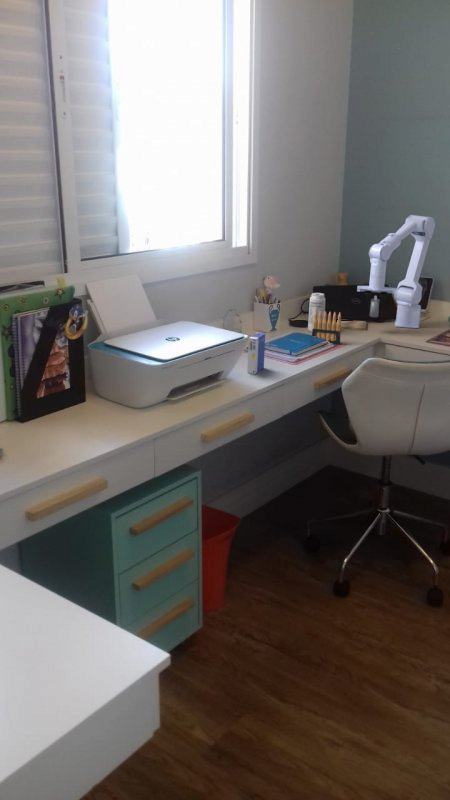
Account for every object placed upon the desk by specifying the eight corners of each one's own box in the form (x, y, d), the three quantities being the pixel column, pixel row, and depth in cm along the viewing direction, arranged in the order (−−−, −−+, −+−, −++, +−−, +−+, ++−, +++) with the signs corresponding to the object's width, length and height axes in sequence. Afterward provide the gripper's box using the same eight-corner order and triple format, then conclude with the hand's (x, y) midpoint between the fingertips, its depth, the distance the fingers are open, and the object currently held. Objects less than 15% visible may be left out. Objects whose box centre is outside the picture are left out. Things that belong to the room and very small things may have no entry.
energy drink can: (325, 331, 289) (328, 293, 284) (319, 334, 285) (322, 296, 279) (311, 329, 292) (314, 291, 287) (305, 332, 287) (307, 294, 282)
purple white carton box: (256, 366, 243) (257, 331, 239) (263, 367, 242) (265, 332, 238) (246, 372, 236) (248, 336, 232) (254, 374, 235) (256, 338, 231)
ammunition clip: (311, 341, 274) (313, 310, 270) (311, 340, 276) (314, 309, 272) (339, 344, 271) (342, 313, 267) (340, 343, 273) (342, 312, 269)
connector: (377, 313, 289) (379, 294, 287) (378, 317, 284) (379, 298, 281) (369, 313, 290) (371, 294, 287) (369, 316, 284) (371, 297, 282)
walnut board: (366, 323, 303) (366, 321, 303) (365, 330, 292) (366, 328, 292) (334, 321, 306) (335, 319, 305) (333, 328, 295) (333, 326, 294)
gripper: (358, 276, 279) (355, 311, 284) (397, 278, 277) (393, 314, 281) (358, 273, 286) (355, 307, 290) (396, 275, 283) (393, 310, 288)
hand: (374, 310), depth 286 cm, fingers closed on connector, 3 cm apart
